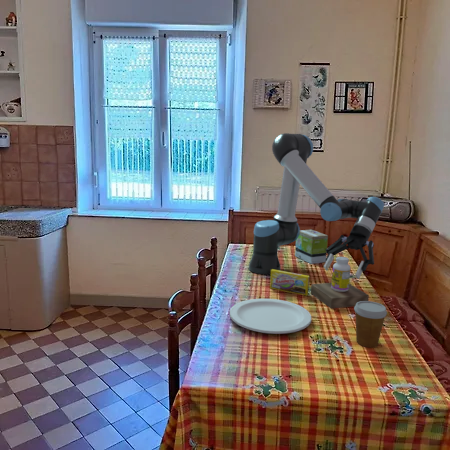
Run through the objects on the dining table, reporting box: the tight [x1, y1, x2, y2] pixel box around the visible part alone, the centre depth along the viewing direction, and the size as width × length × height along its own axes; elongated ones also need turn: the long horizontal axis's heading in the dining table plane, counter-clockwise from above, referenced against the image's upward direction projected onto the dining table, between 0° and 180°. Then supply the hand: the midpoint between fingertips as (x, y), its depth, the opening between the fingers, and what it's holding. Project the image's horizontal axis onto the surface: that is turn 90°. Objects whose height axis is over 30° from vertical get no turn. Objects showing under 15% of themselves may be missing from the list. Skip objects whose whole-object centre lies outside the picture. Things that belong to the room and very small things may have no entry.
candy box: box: [269, 269, 310, 297], centre depth 171 cm, size 16×2×8 cm, turn 62°
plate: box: [229, 298, 312, 335], centre depth 144 cm, size 28×28×2 cm
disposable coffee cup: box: [353, 300, 388, 348], centre depth 127 cm, size 10×10×12 cm
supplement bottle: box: [331, 256, 351, 292], centre depth 162 cm, size 7×7×13 cm
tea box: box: [294, 229, 329, 265], centre depth 219 cm, size 15×10×15 cm, turn 25°
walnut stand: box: [310, 282, 370, 309], centre depth 164 cm, size 16×16×4 cm
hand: (340, 272), depth 162 cm, fingers open, 13 cm apart
